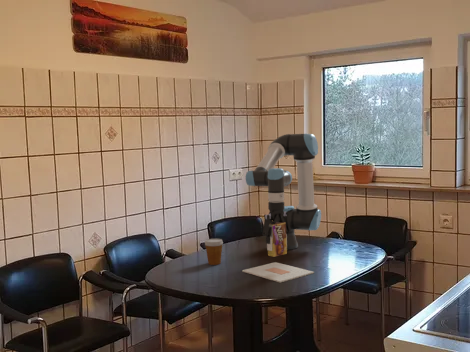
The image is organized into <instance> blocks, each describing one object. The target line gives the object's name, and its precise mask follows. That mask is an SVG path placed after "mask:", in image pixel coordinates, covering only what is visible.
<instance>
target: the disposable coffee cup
mask: <svg viewBox="0 0 470 352" xmlns="http://www.w3.org/2000/svg"><path fill="white" fill-rule="evenodd" d="M223 241H224V240H223V238H209V239H205V241H204V246H205V250H206V256H207V263H208V265H211V266H217V265H220V264H221V263H222V255H223V254H222V253H223V245H224V242H223Z"/></svg>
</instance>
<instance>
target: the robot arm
mask: <svg viewBox="0 0 470 352" xmlns="http://www.w3.org/2000/svg"><path fill="white" fill-rule="evenodd" d="M318 154H319V144H318V141H317V138H316V136H315V135H314V134H313V133H287V134H282V135H281V136H278V137H277V138H275V139H274V140H273V141H271V143H270V144H269V146H268V147H267V151H266V153H265V154H264V156H263V157H262V159H261V160H260V161H259V163H258V164H257V166H256V167H255V169H254V170H253V169H252V170H248V171H247V172H246V174H245V183H246V185H247V186H250V187H267V197H268V200H267V201H268V203H267V204H268V210H269V213H268V214H264V215H263V216H264V221H263V229H262V236H263V237H265V238H266V239H265V242H266V243H265V244H266V250H267V251H268V250H269V251H272V237H271V234H272V227H269V224H275V223H276V222H282V223H283V222H286V242H287V251H288V250H295V249H297V248H298V247H299V243H298V241H297V237H296V233H295V231H297V230H300V231H301V230H302V231H317V230H318V229H319V228H320V224H321V221H322V210H321V209H319V208H318V204H316V203H315V190H314V189H315V188H314V170H313V169H314V167H313V165H314V164H313V162H314V160H315V159H316V156H317V155H318ZM285 156H293V161H295V162H296V174H297V176H296V177H297V178H296V179H297V193H298V204H297V205H296V208H295V206H294V205H287V206H286V205H285V202H284V200H285V187H287V186H289V185H290V184H291V183H292V181H293V176H292V173H291V172H290V171H288V170H285V169H283V168H281V167H277V168H275V167H276V165H277V164H278V162H279V160H280V159H282V158H283V157H285Z"/></svg>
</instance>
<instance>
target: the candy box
mask: <svg viewBox="0 0 470 352" xmlns="http://www.w3.org/2000/svg"><path fill="white" fill-rule="evenodd" d="M269 227H272V234H271V237H272V251H269V250H267V255H268V256H269V257H273V258H274V257H279V256H282V255H283V256H284V255H287V253H288V250H287V242H286V222H283V223H282V222H276V223H275V224H269Z"/></svg>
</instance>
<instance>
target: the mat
mask: <svg viewBox="0 0 470 352" xmlns="http://www.w3.org/2000/svg"><path fill="white" fill-rule="evenodd" d="M242 273H245V274H246V273H247V274H250V275H253V276H256V277H260V278H263V279H266V280H270V281H272V282H273V281H274V282H276V283H283V282H287V281H291V280H294V279H298V278H302V277H305V276H308V275H312V274H314V273H315V271H312V270H307V269H305V268H301V267H296V266H292V265H288V264H283V263H281V262H276V261H275V262H271V263H267V264H263V265H258V266H255V267H254V266H253V267H250V268H245V269H243V270H242Z"/></svg>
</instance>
